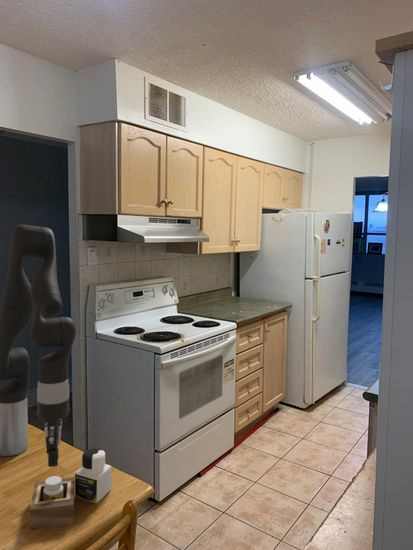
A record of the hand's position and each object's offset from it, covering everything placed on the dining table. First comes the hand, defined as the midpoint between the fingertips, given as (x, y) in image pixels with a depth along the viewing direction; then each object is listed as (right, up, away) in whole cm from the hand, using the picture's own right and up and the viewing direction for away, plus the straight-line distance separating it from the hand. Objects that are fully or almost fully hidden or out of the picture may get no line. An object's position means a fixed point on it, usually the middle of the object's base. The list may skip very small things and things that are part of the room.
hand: (53, 462), depth 108 cm
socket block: (0, -13, +1) cm, 13 cm away
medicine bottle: (+8, -13, +9) cm, 17 cm away
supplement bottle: (0, -13, +1) cm, 13 cm away
